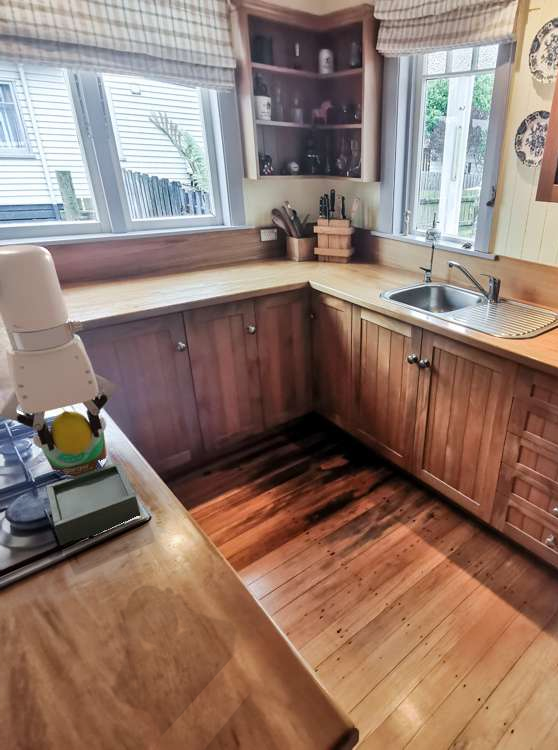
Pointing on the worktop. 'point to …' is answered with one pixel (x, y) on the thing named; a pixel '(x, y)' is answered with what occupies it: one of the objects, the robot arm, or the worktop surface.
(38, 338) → the robot arm
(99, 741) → the worktop surface
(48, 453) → the food container
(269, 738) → the worktop surface
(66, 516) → the grey green square tray
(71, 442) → the lemon
